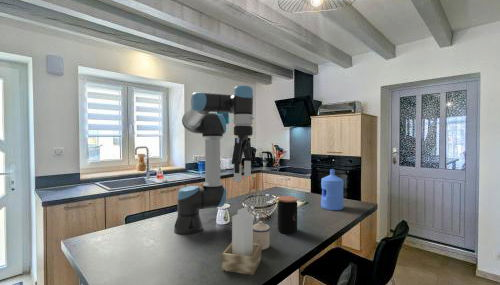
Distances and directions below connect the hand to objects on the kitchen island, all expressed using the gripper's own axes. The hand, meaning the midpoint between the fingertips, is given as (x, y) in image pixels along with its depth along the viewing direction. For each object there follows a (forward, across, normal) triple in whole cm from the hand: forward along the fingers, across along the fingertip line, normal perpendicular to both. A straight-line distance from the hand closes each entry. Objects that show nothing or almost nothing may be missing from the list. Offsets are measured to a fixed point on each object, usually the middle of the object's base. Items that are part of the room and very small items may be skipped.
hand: (242, 178), depth 102 cm
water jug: (+35, +97, -39) cm, 110 cm away
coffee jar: (+35, +42, -13) cm, 56 cm away
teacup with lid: (+35, +18, -2) cm, 39 cm away
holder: (+35, 0, 0) cm, 35 cm away
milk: (+34, 0, 0) cm, 34 cm away
